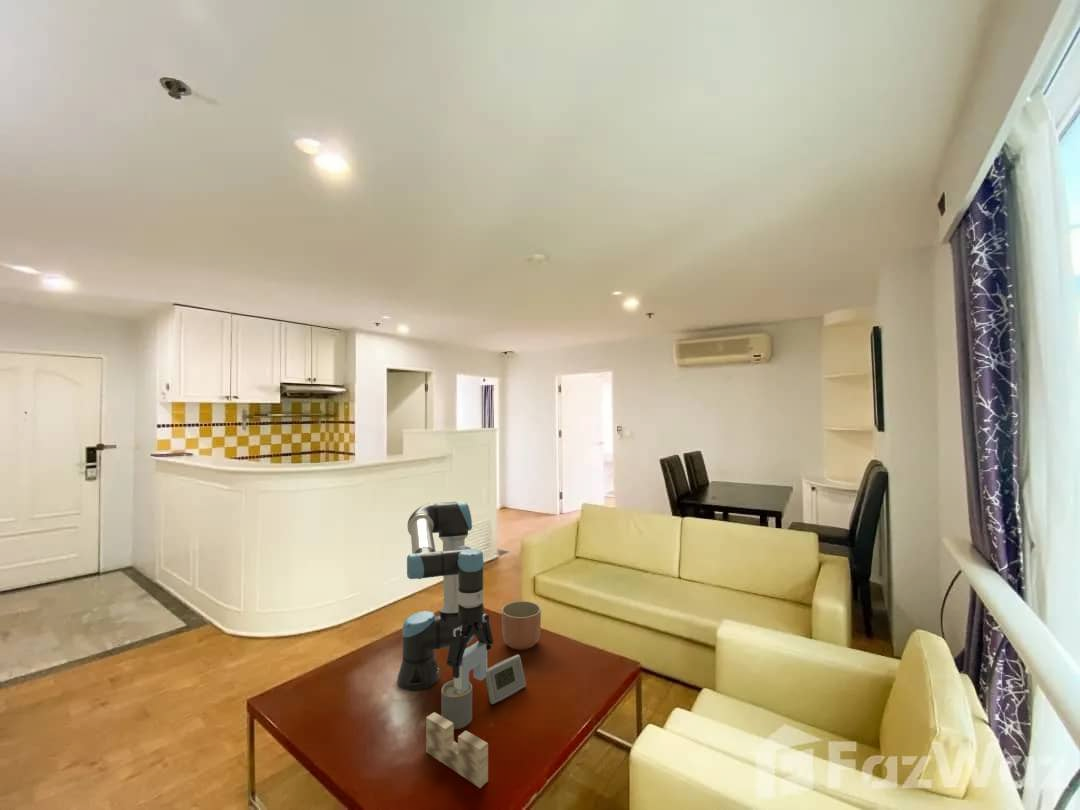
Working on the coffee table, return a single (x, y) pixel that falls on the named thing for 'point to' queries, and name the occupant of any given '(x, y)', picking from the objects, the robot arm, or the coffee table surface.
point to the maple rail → (457, 749)
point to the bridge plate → (473, 664)
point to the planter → (521, 624)
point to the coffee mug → (456, 705)
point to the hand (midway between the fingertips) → (471, 678)
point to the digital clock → (505, 679)
